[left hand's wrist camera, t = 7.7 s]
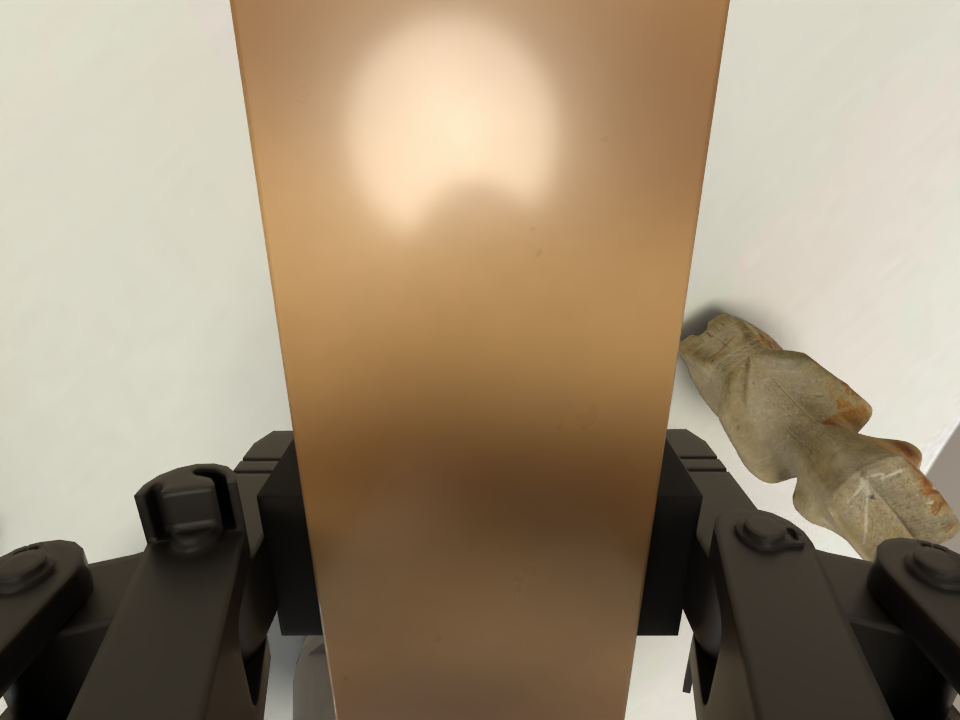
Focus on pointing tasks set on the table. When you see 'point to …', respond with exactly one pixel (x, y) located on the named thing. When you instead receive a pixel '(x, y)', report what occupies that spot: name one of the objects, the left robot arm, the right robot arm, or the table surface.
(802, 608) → the left robot arm
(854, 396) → the sculpture
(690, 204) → the bar
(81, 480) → the table surface
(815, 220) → the table surface
